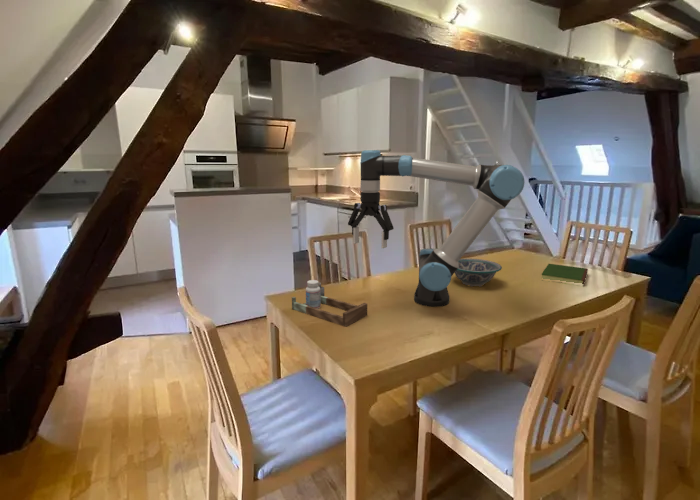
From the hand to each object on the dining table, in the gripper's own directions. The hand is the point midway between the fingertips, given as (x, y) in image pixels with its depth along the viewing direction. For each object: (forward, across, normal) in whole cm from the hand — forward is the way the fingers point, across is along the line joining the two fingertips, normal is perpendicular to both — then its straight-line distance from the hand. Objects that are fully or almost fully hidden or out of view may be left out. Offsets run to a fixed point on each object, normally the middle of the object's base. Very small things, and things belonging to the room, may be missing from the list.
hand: (369, 245), depth 157 cm
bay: (+27, +11, +11) cm, 31 cm away
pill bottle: (+27, +19, +13) cm, 36 cm away
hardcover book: (+28, -54, -98) cm, 115 cm away
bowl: (+27, -21, -59) cm, 68 cm away
